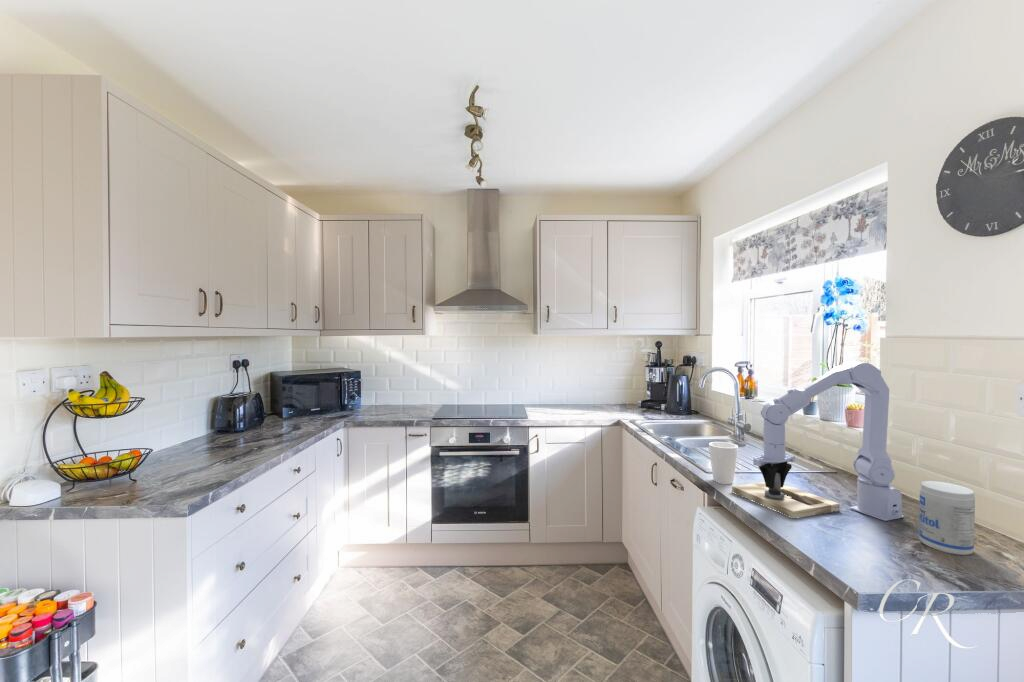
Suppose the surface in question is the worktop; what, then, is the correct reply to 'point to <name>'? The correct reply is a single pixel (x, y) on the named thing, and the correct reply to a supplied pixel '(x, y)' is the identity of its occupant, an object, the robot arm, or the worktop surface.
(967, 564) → the worktop surface
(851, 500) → the worktop surface
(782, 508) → the keyhole board
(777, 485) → the peg
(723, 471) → the foam cup
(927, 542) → the supplement tub
